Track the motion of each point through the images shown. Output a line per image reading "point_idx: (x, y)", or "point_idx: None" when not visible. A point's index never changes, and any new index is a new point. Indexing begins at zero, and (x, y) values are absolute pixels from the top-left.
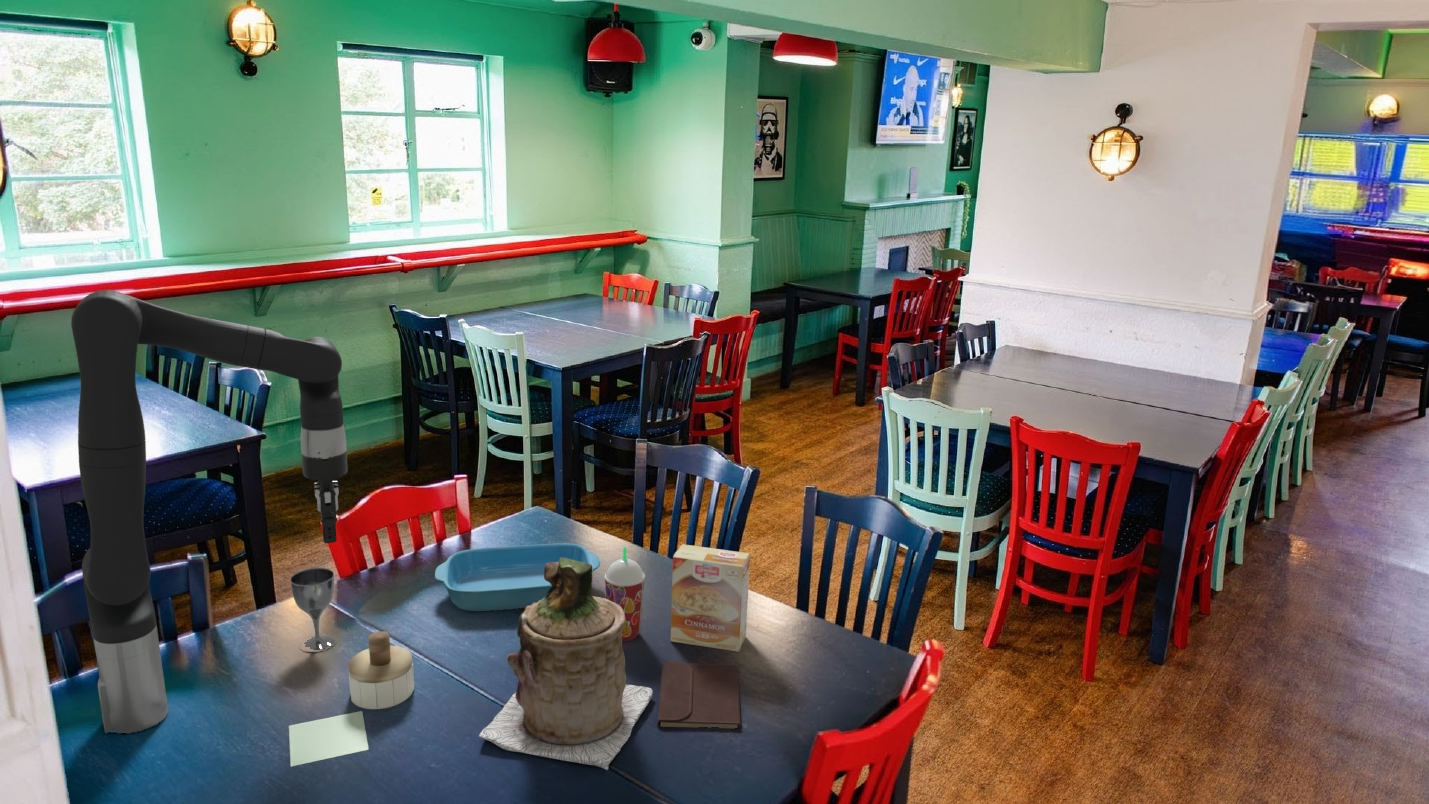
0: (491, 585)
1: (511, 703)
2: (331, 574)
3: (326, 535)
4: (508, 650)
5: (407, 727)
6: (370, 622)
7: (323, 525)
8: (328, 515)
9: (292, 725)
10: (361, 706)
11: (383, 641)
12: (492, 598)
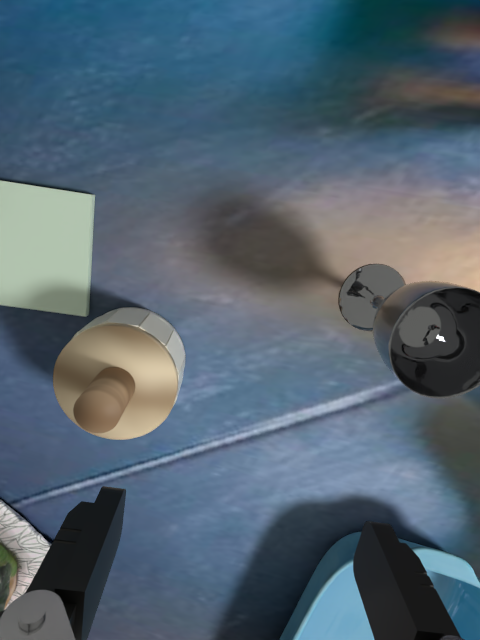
0: None
1: (1, 513)
2: (448, 390)
3: (56, 536)
4: (179, 551)
5: (22, 367)
6: (397, 396)
7: (60, 585)
8: (378, 599)
9: (89, 200)
10: (95, 318)
11: (75, 415)
12: (308, 596)
